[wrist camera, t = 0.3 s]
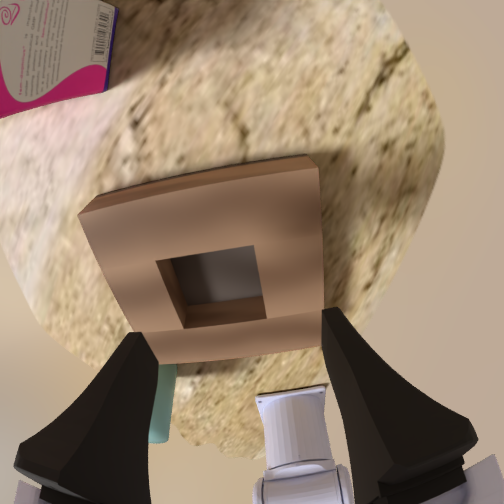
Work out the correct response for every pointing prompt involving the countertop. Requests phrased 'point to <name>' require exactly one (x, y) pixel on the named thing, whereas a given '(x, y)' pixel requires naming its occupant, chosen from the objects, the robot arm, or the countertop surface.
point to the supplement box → (53, 51)
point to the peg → (163, 404)
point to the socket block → (216, 259)
